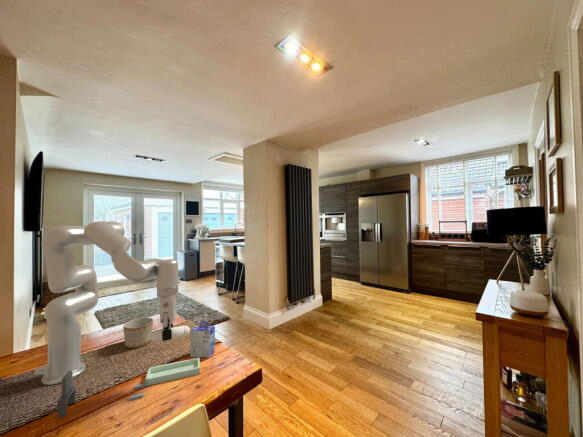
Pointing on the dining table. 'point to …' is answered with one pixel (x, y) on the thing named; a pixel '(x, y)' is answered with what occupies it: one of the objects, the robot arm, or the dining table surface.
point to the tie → (66, 395)
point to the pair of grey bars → (138, 394)
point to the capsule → (176, 333)
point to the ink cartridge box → (202, 341)
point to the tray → (172, 371)
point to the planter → (138, 332)
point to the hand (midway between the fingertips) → (167, 336)
